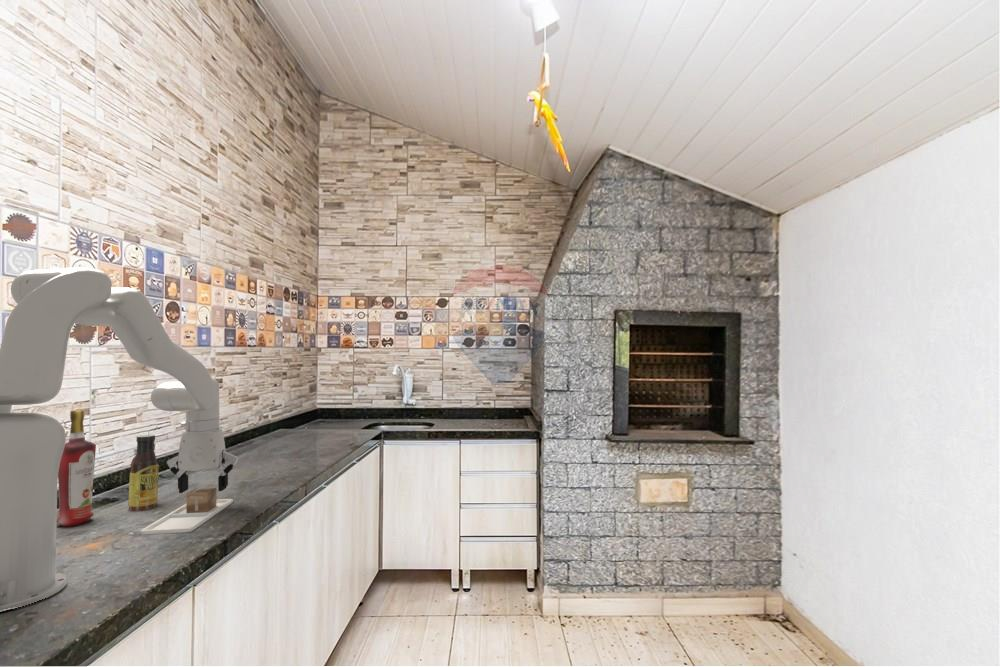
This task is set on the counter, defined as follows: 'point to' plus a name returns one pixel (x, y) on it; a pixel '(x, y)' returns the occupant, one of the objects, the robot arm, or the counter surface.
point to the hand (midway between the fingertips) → (203, 490)
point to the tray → (183, 520)
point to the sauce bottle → (143, 476)
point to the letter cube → (201, 500)
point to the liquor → (76, 475)
